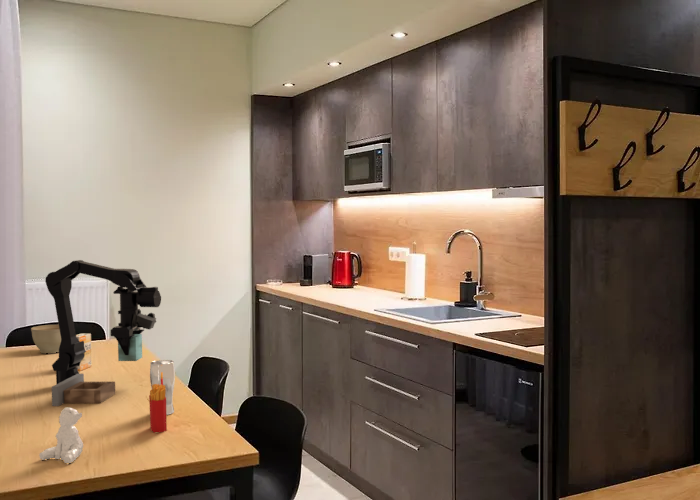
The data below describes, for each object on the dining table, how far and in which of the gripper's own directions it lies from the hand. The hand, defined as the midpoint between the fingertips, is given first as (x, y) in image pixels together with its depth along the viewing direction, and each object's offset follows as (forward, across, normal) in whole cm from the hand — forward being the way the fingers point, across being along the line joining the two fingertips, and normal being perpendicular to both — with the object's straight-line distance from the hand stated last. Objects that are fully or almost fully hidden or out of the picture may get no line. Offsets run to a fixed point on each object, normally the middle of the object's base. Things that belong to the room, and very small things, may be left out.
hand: (130, 353), depth 237 cm
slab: (+12, -14, +15) cm, 24 cm away
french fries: (+12, -46, -24) cm, 54 cm away
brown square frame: (+12, -14, +8) cm, 20 cm away
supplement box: (+12, +31, +30) cm, 45 cm away
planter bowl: (+13, +65, +58) cm, 88 cm away
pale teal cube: (+2, 0, 0) cm, 2 cm away
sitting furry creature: (+12, -68, -9) cm, 70 cm away
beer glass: (+12, -30, -20) cm, 38 cm away
